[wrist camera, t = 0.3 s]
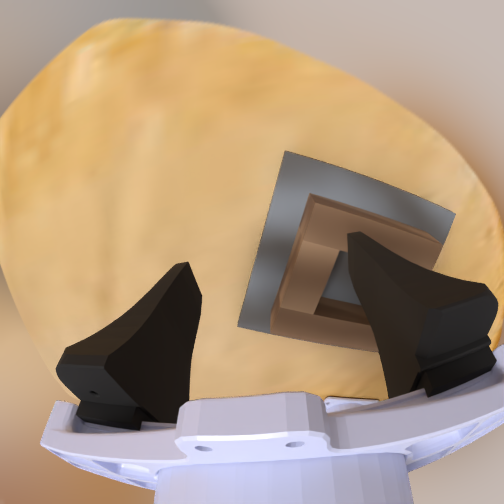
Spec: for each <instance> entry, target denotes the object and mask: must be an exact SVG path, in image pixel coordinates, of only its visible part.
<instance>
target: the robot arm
mask: <svg viewBox="0 0 504 504" xmlns="http://www.w3.org/2000/svg"><path fill="white" fill-rule="evenodd" d="M347 243H348V271H349V275H350V278H351V281H352V284H353V287H354V290H355V292H356V295H357V297H358V299H359V301H360V303H361V305H362V308H363V310H364V312H365V314H366V317H367V319H368V321H369V323H370V326H371V328H372V331H373V333H374V337H375V340H376V344H377V347H378V351H379V355H380V359H381V363H382V367H383V371H384V376H385V381H386V386H387V391H388V397H389V399H387V400H383V401H380V402H379V401H378V400H367V399H351V398H339V397H327V398H326V399H325V400H324V401H323V400H322V399H321V398H320V397H319V396H317V395H314V394H310V393H307V392H303V391H300V392H279V393H271V394H261V395H251V396H239V397H223V398H202V399H196V400H190V401H189V389H190V370H191V359H192V353H193V348H194V343H195V339H196V334H197V330H198V325H199V320H200V315H201V305H202V294H201V292H200V289H199V287H198V285H197V282H196V280H195V277H194V275H193V272H192V270H191V267H190V264H189V262H184V263H178V264H176V265H174V266H173V267H172V268H171V269H170V270H169V271H168V272H167V273H166V274H165V275H164V276H163V277H162V278H161V279H160V280H159V281H158V282H157V283H156V284H155V286H154V287H153V288H152V289H151V290H150V291H149V292H148V293H147V294H145V295H144V296H143V297H142V298H141V299H140V300H139V301H138V302H137V303H136V304H135V305H134V306H133V307H132V308H130V309H129V310H128V311H127V312H126V313H124V314H123V315H122V316H121V317H119V318H118V319H116V320H115V321H113V322H112V323H111V324H109V325H108V326H106V327H105V328H103V329H102V330H100V331H98V332H97V333H95V334H93V335H91V336H90V337H88V338H86V339H84V340H82V341H80V342H78V343H75V344H73V345H71V346H69V347H66V349H65V351H64V353H63V355H62V357H61V359H60V361H59V363H58V365H57V367H56V373H57V375H58V377H59V379H60V380H61V381H62V383H63V384H64V385H65V386H66V387H67V388H68V389H69V390H70V391H71V392H72V393H73V394H74V395H76V396H77V397H78V398H79V399H80V400H81V402H80V404H79V406H78V405H76V404H73V403H70V402H65V401H60V400H57V401H56V402H55V404H54V407H53V409H52V412H51V415H50V417H49V420H48V422H47V425H46V428H45V430H44V433H43V436H42V439H41V442H40V444H41V445H42V446H43V447H45V448H46V449H48V450H49V451H51V452H52V453H54V454H55V455H57V456H58V457H60V458H62V459H63V460H65V461H67V462H68V463H70V464H72V465H74V466H75V467H77V468H81V469H83V470H86V471H89V472H92V473H95V474H98V475H102V476H105V477H107V478H111V479H114V480H117V481H121V482H124V483H128V484H131V485H135V486H139V487H143V488H147V489H151V490H156V491H155V498H154V504H414V503H413V498H412V492H411V487H410V482H409V477H408V472H410V471H413V470H415V469H418V468H420V467H423V466H425V465H427V464H430V463H432V462H434V461H436V460H438V459H440V458H442V457H445V456H447V455H449V454H451V453H452V452H454V451H456V450H458V449H460V448H462V447H464V446H466V445H468V444H470V443H471V442H473V441H475V440H477V439H478V438H480V437H482V436H483V435H485V434H487V433H488V432H490V431H492V430H493V429H495V428H496V427H498V426H500V425H502V424H503V423H504V344H502V345H500V346H499V347H497V348H496V349H495V350H494V351H493V352H492V351H491V349H490V347H489V345H490V344H491V340H490V338H489V337H488V335H487V334H488V332H489V330H490V328H491V326H492V324H493V322H494V320H495V317H496V314H497V311H498V301H497V299H496V297H495V296H494V295H493V293H492V292H491V291H490V290H489V288H488V287H487V286H486V285H485V284H483V283H477V282H471V281H465V280H461V279H457V278H453V277H449V276H446V275H443V274H440V273H437V272H434V271H431V270H429V269H426V268H424V267H421V266H419V265H417V264H415V263H412V262H410V261H408V260H406V259H405V258H403V257H401V256H399V255H397V254H396V253H394V252H392V251H391V250H389V249H387V248H386V247H384V246H383V245H381V244H379V243H378V242H376V241H375V240H373V239H372V238H370V237H369V236H367V235H366V234H364V233H362V232H361V231H358V232H353V233H347Z"/></svg>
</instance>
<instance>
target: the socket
mask: <svg viewBox="0 0 504 504" xmlns="http://www.w3.org/2000/svg"><path fill="white" fill-rule="evenodd" d="M455 215H456V214H455V213H453V212H452V211H450V210H448V209H445V208H443V207H441V206H439V205H437V204H434V203H432V202H430V201H428V200H425V199H423V198H421V197H418V196H416V195H414V194H411V193H409V192H406V191H404V190H402V189H399V188H397V187H394V186H391V185H389V184H386V183H384V182H381V181H378V180H376V179H373V178H370V177H367V176H365V175H362V174H359V173H356V172H353V171H350V170H347V169H344V168H341V167H338V166H335V165H332V164H329V163H326V162H323V161H319V160H316V159H313V158H309V157H306V156H303V155H299V154H296V153H292V152H288V151H285V152H284V156H283V160H282V163H281V167H280V171H279V174H278V178H277V182H276V185H275V189H274V193H273V196H272V200H271V204H270V208H269V211H268V215H267V219H266V222H265V226H264V229H263V233H262V237H261V240H260V244H259V248H258V251H257V255H256V259H255V262H254V266H253V270H252V273H251V277H250V280H249V284H248V288H247V291H246V295H245V299H244V302H243V306H242V309H241V313H240V317H239V320H238V326H237V327H241V328H246V329H250V330H255V331H259V332H264V333H268V334H273V335H278V336H283V337H288V338H293V339H298V340H304V341H309V342H314V343H320V344H326V345H332V346H338V347H344V348H351V349H358V350H365V351H372V352H379V351H378V347H377V344H376V340H375V337H374V333H373V331H372V328H371V326H370V323H369V321H368V319H367V317H366V314H365V312H364V310H363V308H362V305H361V303H360V301H359V299H358V297H357V295H356V292H355V290H354V287H353V284H352V281H351V278H350V275H349V271H348V243H347V233H353V232H358V231H361V232H362V233H364V234H366V235H367V236H369V237H370V238H372V239H373V240H375V241H376V242H378V243H379V244H381V245H383V246H384V247H386V248H387V249H389V250H391V251H392V252H394V253H396V254H397V255H399V256H401V257H403V258H405V259H406V260H408V261H410V262H412V263H415V264H417V265H419V266H421V267H424V268H426V269H429V270H431V271H432V269H433V267H434V265H435V263H436V261H437V258H438V256H439V254H440V252H441V249H442V247H443V245H444V243H445V240H446V238H447V235H448V233H449V230H450V228H451V225H452V223H453V220H454V218H455Z"/></svg>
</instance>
